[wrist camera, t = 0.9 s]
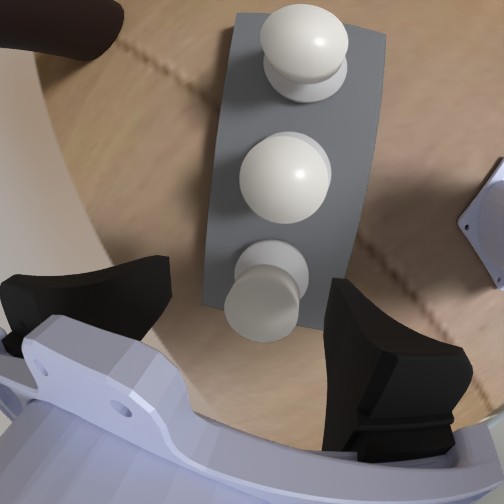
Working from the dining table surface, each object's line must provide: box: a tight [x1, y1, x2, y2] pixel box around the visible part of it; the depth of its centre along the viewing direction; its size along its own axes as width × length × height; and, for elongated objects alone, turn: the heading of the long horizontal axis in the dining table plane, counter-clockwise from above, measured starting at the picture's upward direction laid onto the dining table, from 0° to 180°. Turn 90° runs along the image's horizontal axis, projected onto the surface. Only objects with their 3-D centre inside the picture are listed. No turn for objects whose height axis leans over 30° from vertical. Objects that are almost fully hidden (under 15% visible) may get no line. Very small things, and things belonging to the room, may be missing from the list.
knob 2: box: [239, 136, 328, 224], centre depth 13 cm, size 4×4×2 cm
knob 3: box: [224, 264, 300, 343], centre depth 16 cm, size 4×4×2 cm
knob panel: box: [202, 13, 386, 330], centre depth 18 cm, size 22×10×3 cm, turn 172°
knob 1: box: [260, 4, 348, 84], centre depth 10 cm, size 4×4×2 cm
